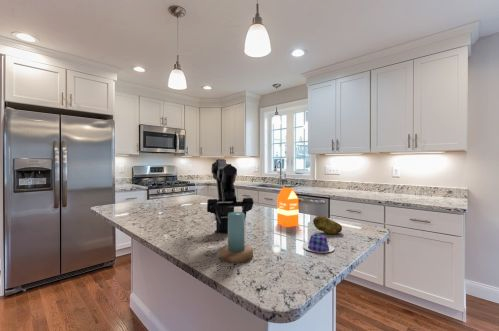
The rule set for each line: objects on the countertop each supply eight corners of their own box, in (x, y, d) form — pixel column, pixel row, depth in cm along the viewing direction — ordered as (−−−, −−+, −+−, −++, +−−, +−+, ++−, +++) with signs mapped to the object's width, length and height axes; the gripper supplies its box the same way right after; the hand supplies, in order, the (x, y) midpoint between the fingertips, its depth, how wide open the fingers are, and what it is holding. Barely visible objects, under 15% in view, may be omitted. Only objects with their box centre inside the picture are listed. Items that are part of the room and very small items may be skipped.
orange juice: (287, 221, 143) (287, 186, 142) (298, 225, 135) (298, 188, 135) (277, 223, 139) (277, 187, 138) (287, 227, 131) (287, 189, 131)
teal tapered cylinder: (224, 249, 91) (224, 213, 91) (237, 245, 95) (237, 211, 95) (234, 253, 87) (234, 216, 86) (248, 249, 91) (247, 213, 90)
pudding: (338, 248, 100) (339, 235, 100) (327, 257, 91) (327, 242, 91) (310, 242, 108) (310, 229, 108) (297, 249, 98) (297, 236, 98)
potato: (340, 237, 114) (340, 219, 113) (311, 233, 120) (311, 216, 119) (342, 232, 121) (342, 215, 121) (315, 229, 127) (315, 213, 127)
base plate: (213, 260, 87) (213, 253, 87) (228, 248, 99) (228, 242, 98) (246, 265, 83) (246, 257, 83) (257, 252, 94) (257, 246, 94)
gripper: (246, 201, 116) (252, 231, 106) (205, 202, 112) (207, 234, 101) (250, 185, 108) (257, 217, 98) (206, 187, 104) (208, 219, 93)
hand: (232, 222), depth 98 cm, fingers open, 9 cm apart
